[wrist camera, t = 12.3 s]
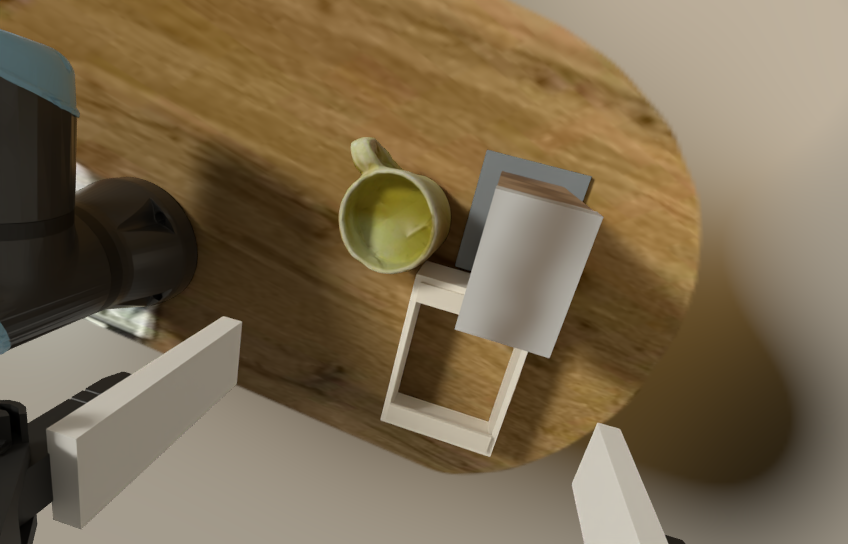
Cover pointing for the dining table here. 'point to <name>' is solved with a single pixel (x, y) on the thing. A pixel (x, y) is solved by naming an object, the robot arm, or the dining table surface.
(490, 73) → the dining table surface
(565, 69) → the dining table surface
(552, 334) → the walnut box
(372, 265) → the mug
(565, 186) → the mat
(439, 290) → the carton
